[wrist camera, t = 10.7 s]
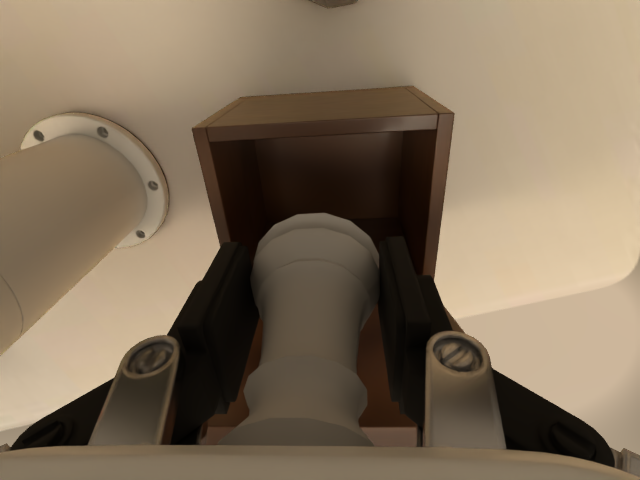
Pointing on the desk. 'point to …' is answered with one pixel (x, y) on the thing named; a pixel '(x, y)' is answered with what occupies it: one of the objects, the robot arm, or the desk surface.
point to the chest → (330, 164)
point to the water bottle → (333, 2)
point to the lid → (381, 412)
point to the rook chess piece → (310, 334)
